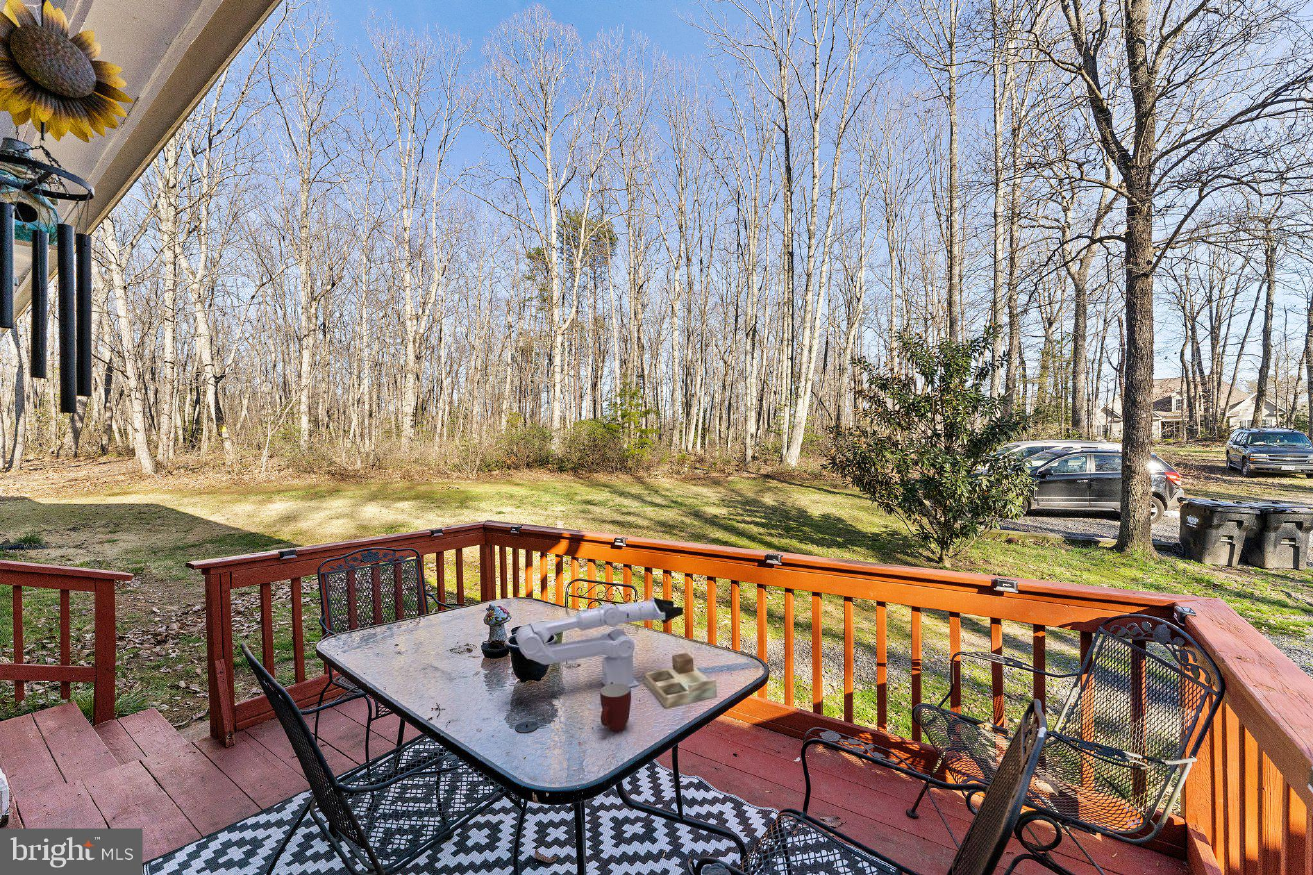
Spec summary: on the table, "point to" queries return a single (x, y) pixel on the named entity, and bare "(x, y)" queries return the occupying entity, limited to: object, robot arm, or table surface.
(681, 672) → the walnut block
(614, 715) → the mug
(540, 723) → the table surface
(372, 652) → the table surface
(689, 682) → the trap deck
